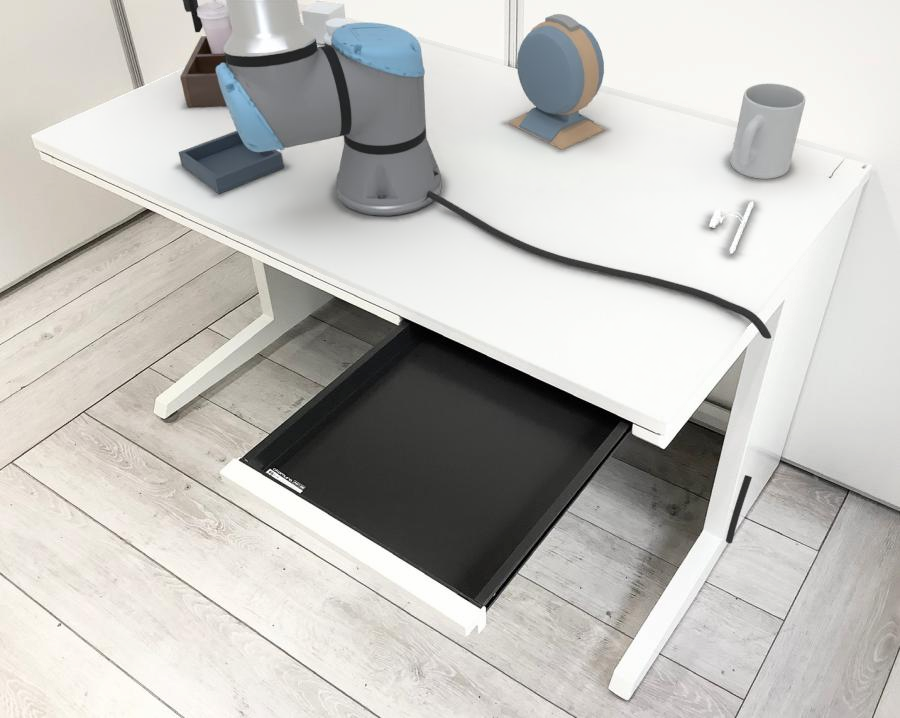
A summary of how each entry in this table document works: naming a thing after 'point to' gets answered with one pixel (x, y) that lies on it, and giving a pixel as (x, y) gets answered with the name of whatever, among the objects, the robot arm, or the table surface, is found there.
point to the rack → (202, 77)
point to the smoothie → (215, 24)
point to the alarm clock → (559, 80)
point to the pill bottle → (333, 28)
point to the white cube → (321, 17)
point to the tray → (228, 162)
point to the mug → (767, 130)
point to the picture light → (717, 219)
